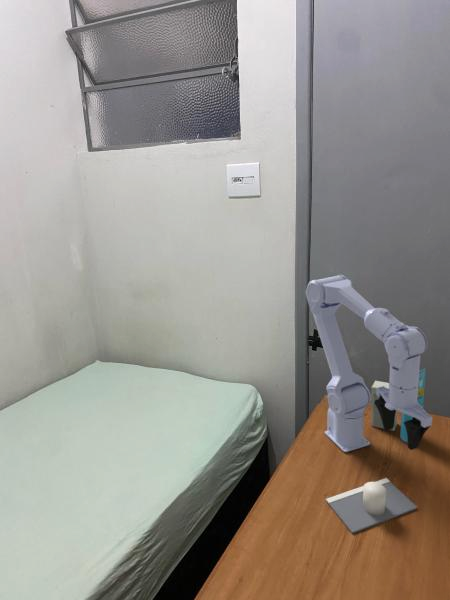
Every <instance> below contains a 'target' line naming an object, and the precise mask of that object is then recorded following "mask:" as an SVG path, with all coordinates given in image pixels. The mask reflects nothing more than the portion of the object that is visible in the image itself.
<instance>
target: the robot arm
mask: <svg viewBox="0 0 450 600" xmlns="http://www.w3.org/2000/svg"><path fill="white" fill-rule="evenodd" d="M305 297H306V299H307V302H308V303H307V304H308V306H309V309H310V313H311V314H312V315H313V318H314V323H315V325H316V328H317V332H318V335H319V337H320V342H321V346H322V347H323V351H324V354H325V355H324V356H325V357H326V360H327V365H328V368H329V371H330V375H331V379H330V380H329V382H328V384H326V387H325V389H326V392H327V393H326V394H327V403H328V407H329V408H328V409H327V413H326V414H327V415H326V416H327V418H326V419H327V420H326V421H327V429H326V430H325V431H324V434H325V435H326V436H327V437H328V439H330V440H331V441H332V443H334V444H335V445H336V446H337V447H338V448H339V449H340V450H341V451H342V452H344V453H349V452H350V451H353V450H354V451H355V450H357V449H361V448H364V447H368V446H370V445H371V442H370V441H369V440H368V439H366V438H365V437H364V418H365V417H364V414H365V411H367V406H370V404H371V403H372V393H371V392H370V389H369V388H368V386H367V385H366V383H365V380H364V378H363V377H362V376H361V375H359V374H357V373H355V372H353V371H354V370H353V368H352V365H351V362H350V361H351V360H350V358H349V355H348V353H347V349H346V346H345V343H344V340H343V335H342V333H341V330H340V327H339V324H338V321H337V318H336V312H337V310H338V308H340V306H341V305H343V306H345V307H346V308H347V309H349V310H351V311H352V312H353V313H354V314H355V315H357V316H358V317H360V318H361V319H363V321H364V322H363V324H364V327H365V329H367V330H368V331H369V332H370V333H371V334H372V335H373V336H375V337H376V338H377V339H378V340H379V341H381V342H382V343H383V344H384V348H385V352H386V353H387V357H388V361H387V362H389V376H388V377H389V378H388V379H389V381H388V383H389V389H388V388H386V387H384V386H382V387H378V388H376V395H377V396H378V397H380V398H379V399H378V400H375V403H374V404H375V405H376V407H377V409H378V411H379V413H380V416H381V419H382V424H383V428H384V429H383V428H382V429H383V430H384V431H391V430H390V429H393V427H394V421H395V413H396V410H397V412H399V413H401V414H402V413H404V414H407V415H409V416H411V417H413V418H412V420H408V421H405V422H404V425H405V427H406V430H407V436H408V443H407V448H408V449H409V450H410V451H412V450H415V449H418V448H419V445H420V442H421V441H422V439H423V436H424V435H425V434H426V433H427V431H428V429H430V427H431V426H432V425H433V416H431V415H430V414H429V413H428V412H427V411H426V410H425V408H424V407H423V408H422V407H421V405H420V404H419V403H418V402H417V396H418V382H419V371H420V366H421V354H423V353H424V352H426V350H427V349H428V339H427V336H426V334H425V333H424V332H423V331H422V329H420V328H419V327H417V326H408V325H407V324H405V323H403V322H402V321H400V320H399V319H398V318H396V317H395V316H394V315H393V314H391V313H390V310H388V309H387V308H383V307H376V308H375V307H374V306H373V305H372V304H371V303H369V301H367V300H366V299H365V298H364V297H363V296H362V295H361V294H360V293H359V292H358V291H356V289H354V287H353V282H352V280H350V279H348V278H347V277H346V276H345V275H343V274H337V275H334V276H330V277H325V278H321V279H313V280H310V281H309V282H308V284H307V287H306V289H305Z"/></svg>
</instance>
